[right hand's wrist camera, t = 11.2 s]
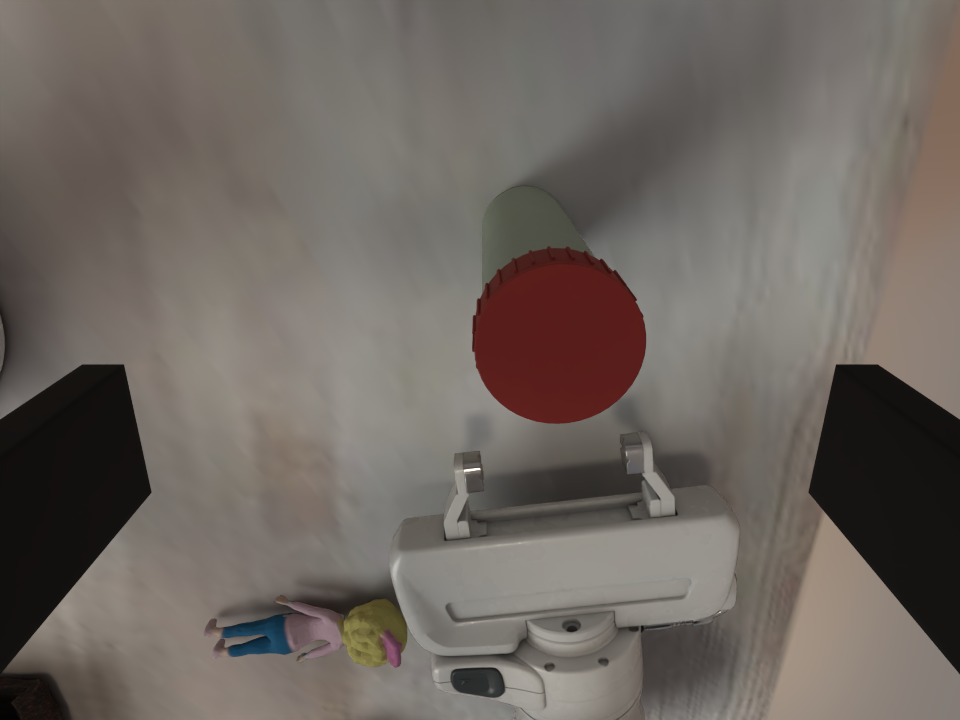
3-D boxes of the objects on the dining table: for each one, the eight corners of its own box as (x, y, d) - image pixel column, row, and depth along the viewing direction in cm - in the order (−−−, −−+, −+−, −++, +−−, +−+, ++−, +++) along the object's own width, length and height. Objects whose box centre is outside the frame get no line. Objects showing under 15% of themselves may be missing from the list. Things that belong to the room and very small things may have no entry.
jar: (575, 197, 38) (656, 288, 20) (552, 277, 39) (608, 424, 22) (493, 176, 37) (503, 251, 20) (473, 258, 39) (466, 393, 22)
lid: (655, 266, 22) (673, 284, 20) (605, 411, 24) (616, 441, 22) (494, 228, 21) (496, 241, 19) (457, 378, 23) (454, 406, 21)
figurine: (233, 650, 52) (419, 636, 50) (208, 699, 47) (410, 685, 46) (209, 591, 49) (403, 574, 47) (180, 636, 45) (392, 620, 43)
